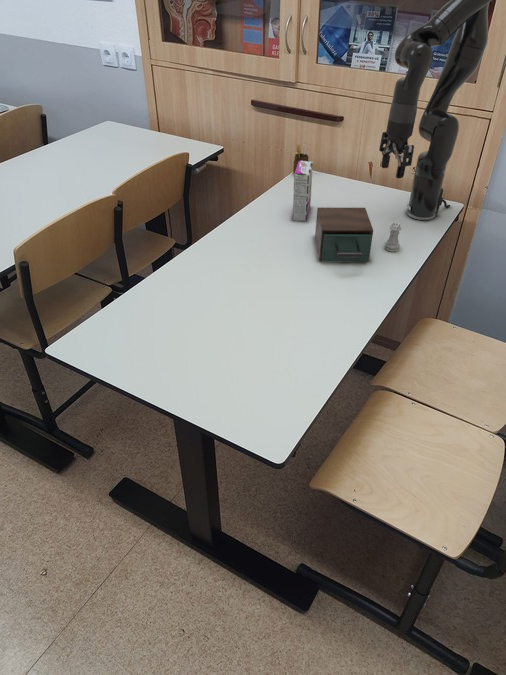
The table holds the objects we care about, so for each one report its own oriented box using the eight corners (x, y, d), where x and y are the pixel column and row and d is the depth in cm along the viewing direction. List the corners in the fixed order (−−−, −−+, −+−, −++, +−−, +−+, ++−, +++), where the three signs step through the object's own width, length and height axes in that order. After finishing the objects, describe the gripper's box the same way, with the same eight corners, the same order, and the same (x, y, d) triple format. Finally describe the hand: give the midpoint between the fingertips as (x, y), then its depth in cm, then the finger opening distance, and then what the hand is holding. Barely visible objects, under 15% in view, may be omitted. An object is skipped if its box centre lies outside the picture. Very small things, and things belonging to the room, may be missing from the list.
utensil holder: (310, 172, 209) (313, 141, 202) (303, 177, 205) (305, 146, 198) (297, 169, 212) (299, 138, 204) (289, 174, 208) (291, 143, 200)
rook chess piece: (382, 245, 165) (386, 221, 160) (396, 244, 165) (401, 221, 160) (386, 252, 161) (390, 228, 156) (401, 252, 162) (405, 228, 157)
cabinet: (368, 261, 158) (373, 230, 151) (319, 261, 158) (321, 230, 151) (361, 237, 169) (365, 207, 163) (314, 237, 169) (317, 207, 163)
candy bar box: (296, 206, 186) (298, 159, 176) (310, 207, 185) (313, 161, 175) (291, 220, 178) (293, 173, 167) (306, 222, 177) (309, 174, 166)
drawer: (371, 272, 151) (375, 246, 146) (323, 271, 151) (326, 246, 146) (360, 238, 166) (364, 214, 161) (317, 238, 166) (319, 214, 161)
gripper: (427, 124, 150) (415, 180, 160) (399, 110, 161) (390, 163, 171) (404, 126, 148) (393, 183, 158) (377, 112, 158) (369, 165, 169)
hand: (391, 172), depth 164 cm, fingers open, 8 cm apart
